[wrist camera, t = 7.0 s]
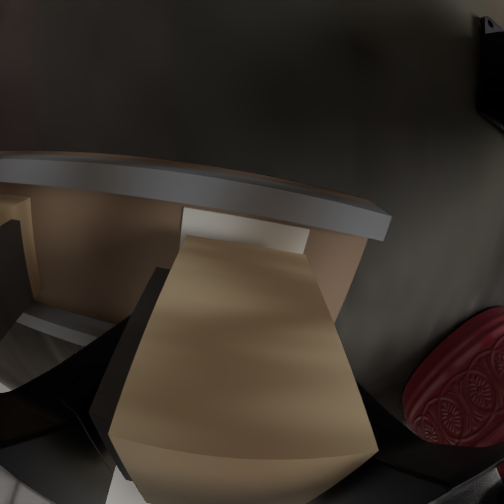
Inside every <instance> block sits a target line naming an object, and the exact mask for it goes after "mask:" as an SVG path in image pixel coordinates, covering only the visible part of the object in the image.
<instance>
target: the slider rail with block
mask: <svg viewBox="0 0 504 504" xmlns="http://www.w3.org/2000/svg"><path fill="white" fill-rule="evenodd" d="M391 218H392V216H391V215H389V214H388V213H387V212H385V211H384V210H383V209H381V208H380V207H378V206H377V205H376V204H374V203H373V202H371V201H370V200H368V199H364V198H360V197H356V196H353V195H349V194H345V193H341V192H337V191H333V190H329V189H325V188H321V187H316V186H312V185H308V184H303V183H299V182H294V181H290V180H285V179H280V178H275V177H270V176H265V175H260V174H255V173H250V172H244V171H238V170H233V169H227V168H221V167H215V166H208V165H202V164H195V163H188V162H180V161H173V160H165V159H156V158H147V157H138V156H127V155H116V154H103V153H87V152H66V151H0V341H1V340H2V338H3V337H4V336H5V334H6V333H7V332H8V331H9V329H10V328H11V327H12V326H13V324H14V323H15V322H18V323H20V324H23V325H25V326H28V327H30V328H33V329H35V330H38V331H40V332H43V333H46V334H49V335H51V336H54V337H57V338H60V339H63V340H66V341H69V342H72V343H75V344H78V345H81V346H84V347H85V346H86V345H88V344H89V343H91V342H92V341H93V340H95V339H96V338H98V337H99V336H101V335H102V334H103V333H105V332H106V331H108V330H109V329H111V328H112V327H113V326H115V325H116V324H118V323H119V322H121V321H122V320H124V319H125V318H126V317H128V316H129V315H131V314H132V313H133V311H134V309H135V307H136V305H137V303H138V301H139V299H140V297H141V295H142V293H143V291H144V289H145V287H146V286H147V284H148V282H149V280H150V278H151V276H152V274H153V272H154V270H155V269H156V267H160V268H166V269H171V268H172V266H173V264H174V261H175V259H176V257H177V255H178V253H179V251H180V248H181V246H182V244H183V242H184V240H185V238H186V236H187V235H192V236H198V237H204V238H210V239H216V240H222V241H228V242H234V243H240V244H246V245H252V246H258V247H264V248H270V249H276V250H282V251H287V252H293V253H299V254H305V255H306V257H307V259H308V262H309V264H310V267H311V269H312V271H313V274H314V276H315V278H316V281H317V283H318V286H319V288H320V290H321V293H322V295H323V298H324V300H325V303H326V305H327V308H328V310H329V313H330V315H331V318H332V320H333V323H335V320H336V318H337V316H338V314H339V311H340V309H341V307H342V304H343V302H344V300H345V297H346V295H347V292H348V290H349V288H350V285H351V283H352V280H353V278H354V275H355V273H356V270H357V267H358V265H359V262H360V259H361V257H362V254H363V251H364V249H365V246H366V243H367V240H368V238H371V239H375V240H380V241H384V238H385V236H386V233H387V230H388V227H389V224H390V221H391Z"/></svg>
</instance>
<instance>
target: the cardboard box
mask: <svg viewBox="0 0 504 504" xmlns="http://www.w3.org/2000/svg"><path fill="white" fill-rule="evenodd" d="M89 415H90V417H91V419H92V421H93V423H94V425H95V427H96V429H97V431H98V433H99V435H100V437H101V439H102V440H103V442H104V444H105V446H106V448H107V449H108V451H109V453H110V455H111V456H112V458H113V460H114V462H115V463H116V465H117V466H118V468H119V470H120V471H121V473H122V474H123V476H124V478H125V479H126V480H129V481H133V482H134V484H135V485H136V487H137V488H138V490H139V492H140V493H141V495H142V496H143V498H144V500H145V501H146V502H147V503H151V504H306V503H308V502H309V501H311V500H312V499H314V498H316V497H317V496H319V495H320V494H322V493H323V492H325V491H326V490H328V489H329V488H331V487H332V486H334V485H335V484H337V483H338V482H339V481H341V480H342V479H344V478H345V477H346V476H348V475H349V474H350V473H352V472H353V471H354V470H356V469H357V468H358V467H359V466H361V465H362V464H363V463H364V462H366V461H367V460H368V459H369V458H371V457H372V456H373V455H374V454H375V453H376V452H378V451H379V450H378V447H377V443H376V440H375V437H374V434H373V431H372V428H371V425H370V422H369V419H368V416H367V413H366V410H365V407H364V404H363V401H362V398H361V395H360V393H359V390H358V387H357V384H356V381H355V378H354V376H353V373H352V370H351V367H350V365H349V362H348V359H347V357H346V354H345V351H344V349H343V346H342V343H341V341H340V338H339V336H338V333H337V330H336V328H335V325H334V323H333V320H332V318H331V315H330V313H329V310H328V308H327V305H326V303H325V300H324V298H323V295H322V293H321V290H320V288H319V286H318V283H317V281H316V278H315V276H314V274H313V271H312V269H311V267H310V264H309V262H308V259H307V257H306V255H305V254H299V253H293V252H287V251H282V250H276V249H270V248H264V247H258V246H252V245H246V244H240V243H234V242H228V241H222V240H216V239H210V238H204V237H198V236H192V235H187V236H186V238H185V240H184V242H183V244H182V246H181V248H180V251H179V253H178V255H177V257H176V259H175V261H174V264H173V266H172V268H171V269H166V268H160V267H156V269H155V270H154V272H153V274H152V276H151V278H150V280H149V282H148V284H147V286H146V287H145V289H144V291H143V293H142V295H141V297H140V299H139V301H138V303H137V305H136V307H135V309H134V311H133V313H132V315H131V317H130V319H129V321H128V323H127V325H126V327H125V329H124V331H123V334H122V336H121V338H120V340H119V342H118V344H117V346H116V349H115V351H114V353H113V355H112V357H111V360H110V362H109V364H108V366H107V369H106V371H105V373H104V376H103V378H102V380H101V383H100V385H99V387H98V390H97V392H96V395H95V397H94V400H93V402H92V405H91V407H90V410H89Z"/></svg>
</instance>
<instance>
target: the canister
mask: <svg viewBox="0 0 504 504" xmlns="http://www.w3.org/2000/svg"><path fill="white" fill-rule="evenodd" d="M402 405H403V409H404V418H405V420H406V421H407V426H408V428H409V429H410V430H411V431H412V432H413V433H415V434H416V435H417V436H419V437H420V438H422V439H423V440H425V441H428V442H431V443H436V444H445V445H456V446H469V447H487V446H492V445H495V444H496V443H498V442H500V441H504V307H501V306H500V307H494V308H491V309H488V310H485V311H483V312H481V313H479V314H478V315H476V316H474V317H473V318H471V319H470V320H468V321H467V322H465V323H464V324H462V325H461V326H460V327H459V328H457V329H456V330H455V331H454V332H452V333H451V334H450V335H449V336H448V337H446V338H445V339H444V340H443V341H442V342H441V343H440V344H439V345H438V346H437V347H436V348H435V349H434V350H433V351H432V352H431V353H430V354H429V355H428V356H427V357H426V358H425V360H424V361H423V362H422V363H421V364H420V366H419V367H418V368H417V369H416V371H415V372H414V373H413V375H412V376H411V378H410V380H409V381H408V383H407V385H406V387H405V389H404V391H403V394H402ZM496 468H497V471H498V473H499V475H500V478H502V477H503V476H504V462H503V463H502V464H500V465H499V466H498V467H496Z"/></svg>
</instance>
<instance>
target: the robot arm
mask: <svg viewBox="0 0 504 504" xmlns="http://www.w3.org/2000/svg"><path fill="white" fill-rule="evenodd" d="M480 24H481V53H480V72H479V84H478V93H477V101H476V105H477V109H478V111H479V113H480V114H481V115H483V116H484V117H485V118H486V119H488V120H489V121H490V122H492V123H493V124H494V125H495V126H497V127H498V128H499V129H500V130H502V131H503V132H504V30H503V29H502V28H501V27H500V26H499V25H498V24H497V23H495V22H494V21H493V20H492V19H491V18H490V17H488V16H484V17H481V19H480ZM484 104H485V107H484ZM131 315H132V314H131ZM131 315H129V316H128V317H126V318H125V319H124V320H122V321H121V322H119V323H118V324H116V325H115V326H113V327H112V328H111V329H109V330H108V331H106V332H105V333H103V334H102V335H101V336H99V337H98V338H96V339H95V340H93V341H92V342H91V343H89V344H88V345H86V346H85V347H83V348H82V349H81V350H79V351H78V352H77V354H76V353H75V354H73V355H72V356H71V357H69V358H68V359H66V360H65V361H63V362H62V363H60V364H59V365H57V366H56V367H54V368H52V369H51V370H49V371H47V372H46V373H44V374H42V375H40V376H38V377H37V378H35V379H33V380H31V381H29V382H28V383H26V384H24V385H22V386H20V387H18V388H16V389H14V390H12V391H9V392H5V393H0V504H105V503H106V499H107V495H108V492H109V488H110V484H111V481H112V477H113V473H114V470H115V467H116V463H115V462H114V460H113V458H112V456H111V455H110V453H109V451H108V449H107V448H106V446H105V444H104V442H103V440H102V439H101V437H100V435H99V433H98V431H97V429H96V427H95V425H94V423H93V421H92V419H91V417H90V415H89V410H90V407H91V405H92V402H93V400H94V397H95V395H96V392H97V390H98V387H99V385H100V383H101V380H102V378H103V376H104V373H105V371H106V369H107V366H108V364H109V362H110V360H111V357H112V355H113V353H114V351H115V349H116V346H117V344H118V342H119V340H120V338H121V336H122V334H123V331H124V329H125V327H126V325H127V323H128V321H129V319H130V317H131ZM355 381H356V384H357V387H358V390H359V393H360V395H361V398H362V401H363V404H364V407H365V410H366V413H367V416H368V419H369V422H370V425H371V428H372V431H373V434H374V437H375V440H376V443H377V447H378V450H379V451H378V452H376V453H375V454H374V455H373V456H372V457H371V458H369V459H368V460H367V461H366V462H364V463H363V464H362V465H361V466H359V467H358V468H357V469H356V470H354V471H353V472H352V473H350V474H349V475H348V476H346V477H345V478H344V479H342V480H341V481H339V482H338V483H337V484H335V485H334V486H332V487H331V488H329V489H328V490H326V491H325V492H323V493H322V494H320V495H319V496H317V497H316V498H314V499H312V500H311V501H309V502H308V503H306V504H504V476H503V477H502V478H500V475H499V473H498V471H497V468H496V467H498V466H499V465H500V464H502V463H503V462H504V441H500V442H498V443H496V444H495V445H492V446H487V447H469V446H456V445H445V444H436V443H431V442H428V441H425V440H423V439H422V438H420V437H419V436H417V435H416V434H415V433H413V432H412V431H411V430H410V429H408V428H407V427H406V426H405V425H404V424H402V423H401V422H400V421H399V420H397V419H396V418H395V417H394V416H393V415H392V414H390V413H389V412H388V411H387V410H386V409H385V408H384V407H382V406H381V405H380V404H379V403H378V402H377V401H376V400H375V399H374V398H373V397H372V396H371V395H370V394H369V393H368V392H366V390H365V389H364V388H363V387H362V386H361V385H360V384H359V382H358V381H357V380H356V379H355Z"/></svg>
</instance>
